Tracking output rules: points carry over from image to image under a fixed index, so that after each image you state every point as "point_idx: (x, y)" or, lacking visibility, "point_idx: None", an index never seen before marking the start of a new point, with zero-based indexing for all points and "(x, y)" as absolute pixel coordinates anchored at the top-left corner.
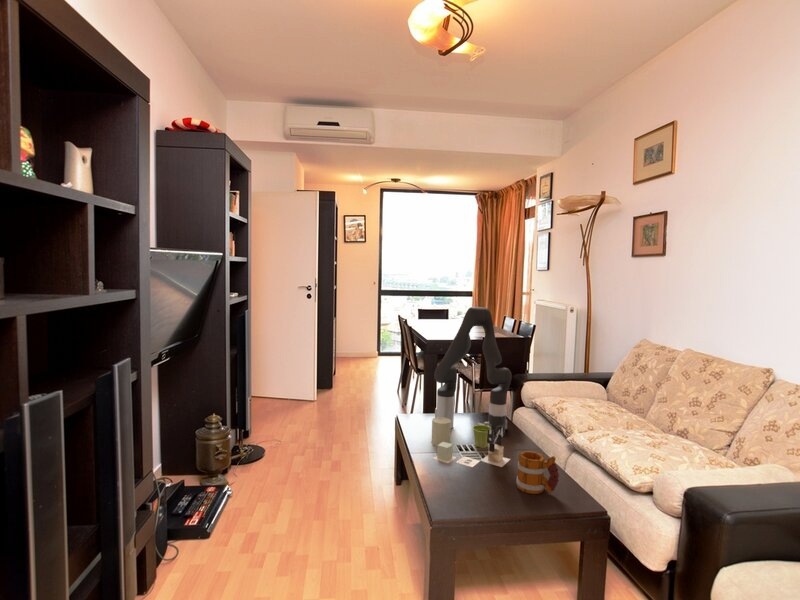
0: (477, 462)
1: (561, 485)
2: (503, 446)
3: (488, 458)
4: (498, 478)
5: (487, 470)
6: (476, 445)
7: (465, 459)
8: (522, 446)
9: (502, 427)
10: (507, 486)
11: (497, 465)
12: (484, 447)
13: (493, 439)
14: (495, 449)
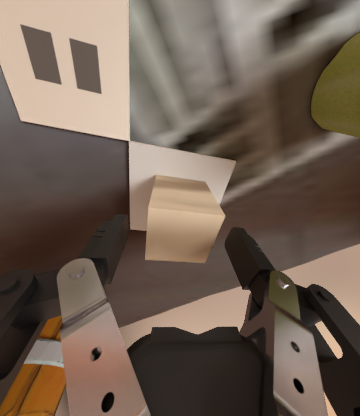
0: (100, 131)
1: (130, 311)
2: (202, 262)
3: (155, 179)
4: (47, 234)
5: (69, 192)
6: (346, 44)
7: (78, 25)
8: (323, 239)
9: (349, 407)
10: (26, 260)
11: (131, 216)
12: (313, 114)
13: (28, 352)
14: (146, 241)
